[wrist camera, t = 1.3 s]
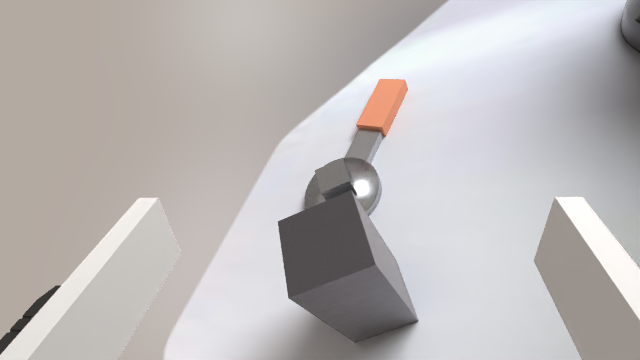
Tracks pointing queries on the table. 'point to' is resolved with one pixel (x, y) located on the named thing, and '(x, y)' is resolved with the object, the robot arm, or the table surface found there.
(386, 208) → the table surface
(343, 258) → the dark grey block
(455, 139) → the table surface
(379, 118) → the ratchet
